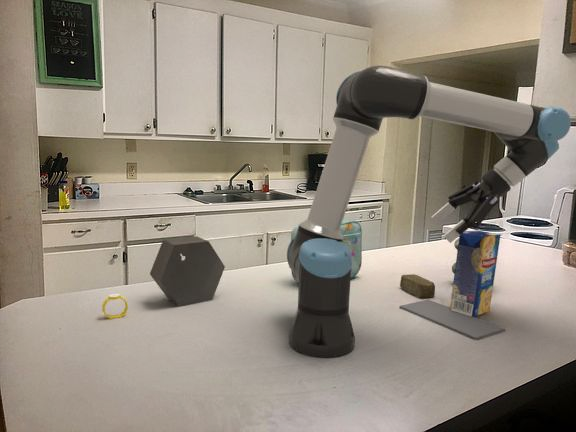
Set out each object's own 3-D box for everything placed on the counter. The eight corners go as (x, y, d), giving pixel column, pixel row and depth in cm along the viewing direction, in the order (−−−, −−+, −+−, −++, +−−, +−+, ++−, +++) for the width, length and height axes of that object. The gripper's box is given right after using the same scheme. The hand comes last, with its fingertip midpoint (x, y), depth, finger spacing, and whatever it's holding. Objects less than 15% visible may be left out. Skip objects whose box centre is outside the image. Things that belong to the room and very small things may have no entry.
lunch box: (307, 292, 148) (310, 223, 144) (285, 284, 155) (287, 218, 152) (363, 278, 165) (367, 216, 162) (341, 271, 173) (344, 212, 169)
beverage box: (489, 310, 137) (500, 234, 135) (473, 317, 130) (484, 236, 127) (466, 303, 142) (476, 230, 139) (449, 310, 134) (459, 232, 131)
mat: (475, 340, 116) (475, 337, 116) (399, 307, 137) (399, 305, 137) (505, 330, 123) (505, 328, 122) (428, 301, 143) (428, 299, 143)
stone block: (420, 300, 145) (421, 284, 144) (398, 288, 155) (399, 273, 155) (436, 298, 147) (437, 282, 146) (413, 287, 157) (414, 272, 157)
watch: (104, 321, 120) (102, 299, 119) (102, 318, 123) (100, 296, 121) (129, 316, 123) (127, 294, 122) (127, 313, 125) (124, 291, 124)
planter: (220, 274, 147) (186, 221, 138) (233, 280, 141) (199, 225, 132) (177, 311, 140) (138, 259, 131) (189, 320, 134) (149, 265, 125)
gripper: (530, 202, 118) (461, 257, 124) (494, 174, 141) (437, 221, 147) (512, 182, 117) (443, 238, 123) (478, 156, 140) (421, 205, 146)
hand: (439, 229), depth 135 cm, fingers open, 13 cm apart
